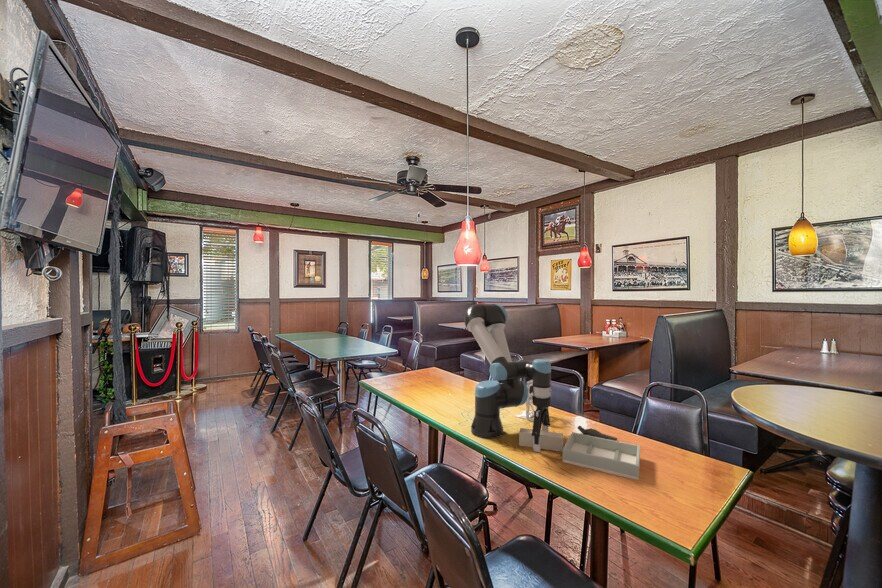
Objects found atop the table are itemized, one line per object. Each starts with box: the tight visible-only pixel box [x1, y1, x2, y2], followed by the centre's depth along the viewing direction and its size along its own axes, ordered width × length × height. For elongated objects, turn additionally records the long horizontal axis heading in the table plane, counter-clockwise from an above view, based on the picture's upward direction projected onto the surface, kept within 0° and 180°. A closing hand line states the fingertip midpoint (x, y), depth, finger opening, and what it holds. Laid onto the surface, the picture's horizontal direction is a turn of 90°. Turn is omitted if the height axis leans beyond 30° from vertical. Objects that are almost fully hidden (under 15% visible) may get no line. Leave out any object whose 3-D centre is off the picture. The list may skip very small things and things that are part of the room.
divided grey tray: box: [561, 431, 641, 481], centre depth 140 cm, size 26×20×5 cm
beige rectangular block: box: [518, 427, 564, 453], centre depth 152 cm, size 18×5×6 cm, turn 71°
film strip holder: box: [514, 379, 537, 422], centre depth 190 cm, size 14×14×20 cm
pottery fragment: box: [577, 425, 618, 441], centre depth 161 cm, size 15×12×4 cm
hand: (541, 445), depth 152 cm, fingers open, 12 cm apart
